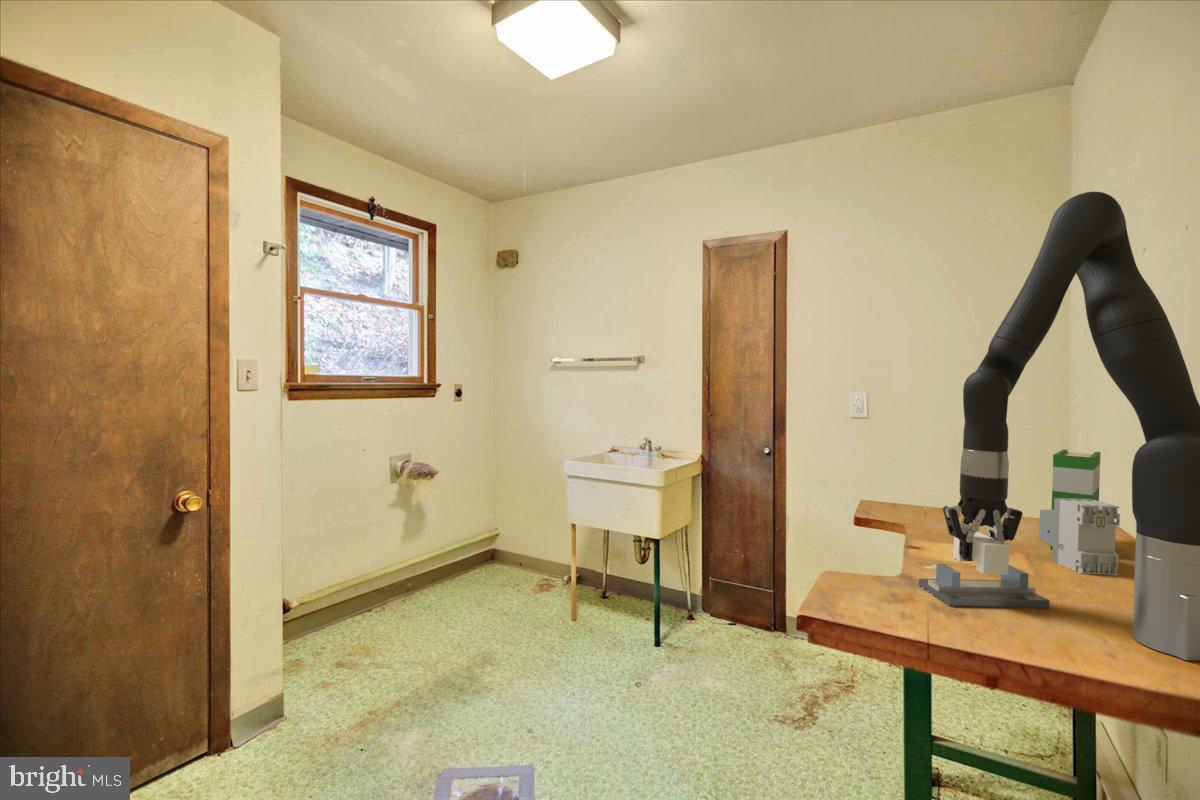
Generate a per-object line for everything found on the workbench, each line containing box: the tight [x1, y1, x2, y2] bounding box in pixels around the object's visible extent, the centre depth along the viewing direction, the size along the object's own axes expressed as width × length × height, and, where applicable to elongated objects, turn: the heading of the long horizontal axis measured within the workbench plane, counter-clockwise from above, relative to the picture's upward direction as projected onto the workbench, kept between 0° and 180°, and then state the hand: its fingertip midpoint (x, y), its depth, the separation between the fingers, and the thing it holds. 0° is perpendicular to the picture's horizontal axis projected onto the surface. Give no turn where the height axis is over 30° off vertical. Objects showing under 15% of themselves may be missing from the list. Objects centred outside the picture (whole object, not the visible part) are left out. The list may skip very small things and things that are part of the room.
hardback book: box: [1049, 449, 1101, 551], centre depth 136 cm, size 18×7×24 cm, turn 133°
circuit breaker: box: [1038, 498, 1121, 576], centre depth 122 cm, size 8×14×15 cm, turn 174°
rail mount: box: [918, 563, 1050, 609], centre depth 103 cm, size 10×18×6 cm, turn 88°
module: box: [952, 531, 1011, 575], centre depth 103 cm, size 9×4×6 cm, turn 178°
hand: (980, 560), depth 103 cm, fingers closed on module, 4 cm apart
